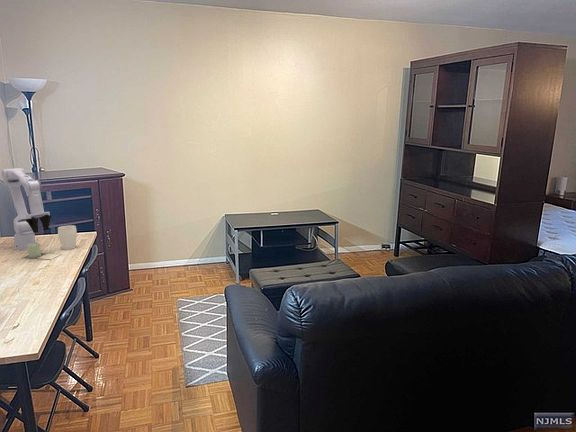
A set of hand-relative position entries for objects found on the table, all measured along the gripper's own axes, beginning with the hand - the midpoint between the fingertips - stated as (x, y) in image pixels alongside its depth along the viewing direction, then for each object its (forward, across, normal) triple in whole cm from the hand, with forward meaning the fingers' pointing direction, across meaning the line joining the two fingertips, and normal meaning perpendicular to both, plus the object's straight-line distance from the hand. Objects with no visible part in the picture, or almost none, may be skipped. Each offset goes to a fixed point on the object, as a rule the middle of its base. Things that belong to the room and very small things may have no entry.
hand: (41, 231), depth 213 cm
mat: (+13, +1, +3) cm, 14 cm away
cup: (+12, +17, -1) cm, 21 cm away
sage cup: (+12, +1, +7) cm, 14 cm away
